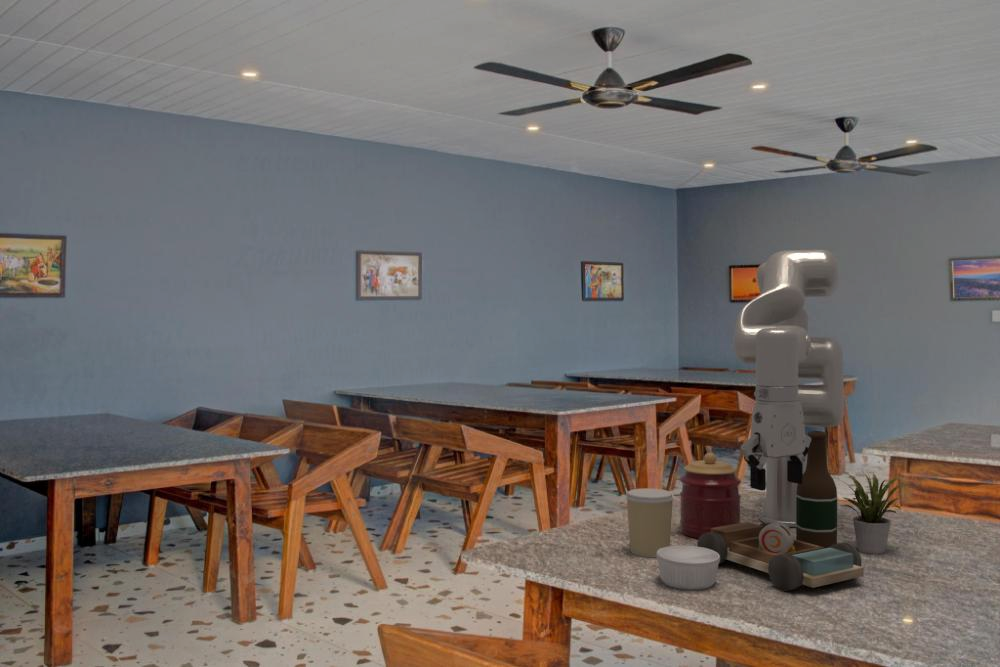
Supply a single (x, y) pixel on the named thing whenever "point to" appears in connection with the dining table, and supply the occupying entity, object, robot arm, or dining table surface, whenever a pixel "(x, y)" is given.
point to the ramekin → (688, 566)
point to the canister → (709, 496)
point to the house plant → (872, 515)
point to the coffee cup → (649, 520)
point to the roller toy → (776, 538)
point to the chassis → (784, 557)
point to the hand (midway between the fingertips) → (776, 485)
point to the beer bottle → (817, 497)
